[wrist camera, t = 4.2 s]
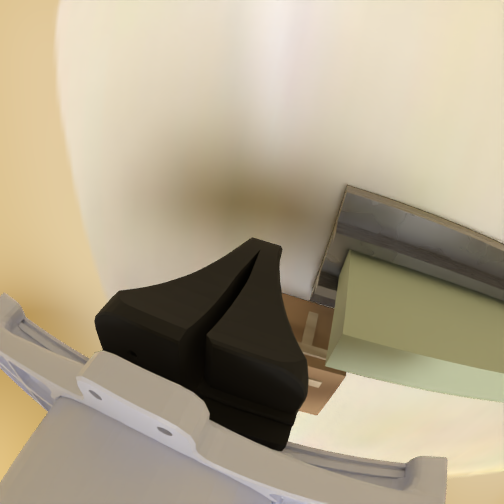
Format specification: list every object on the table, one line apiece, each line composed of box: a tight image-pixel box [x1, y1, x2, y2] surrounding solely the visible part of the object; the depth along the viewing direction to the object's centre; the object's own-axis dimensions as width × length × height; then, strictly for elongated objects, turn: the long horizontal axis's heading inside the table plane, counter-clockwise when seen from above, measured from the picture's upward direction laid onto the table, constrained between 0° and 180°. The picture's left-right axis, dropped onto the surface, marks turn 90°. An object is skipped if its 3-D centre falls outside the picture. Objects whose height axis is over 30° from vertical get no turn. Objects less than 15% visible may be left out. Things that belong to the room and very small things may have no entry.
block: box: [282, 293, 346, 415], centre depth 19 cm, size 5×5×5 cm
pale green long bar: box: [325, 249, 504, 403], centre depth 12 cm, size 14×2×6 cm, turn 81°
